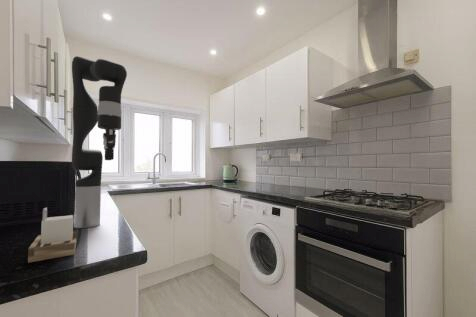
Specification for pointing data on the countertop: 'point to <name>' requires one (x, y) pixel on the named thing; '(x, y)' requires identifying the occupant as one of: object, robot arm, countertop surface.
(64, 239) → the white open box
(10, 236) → the countertop surface
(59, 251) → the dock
